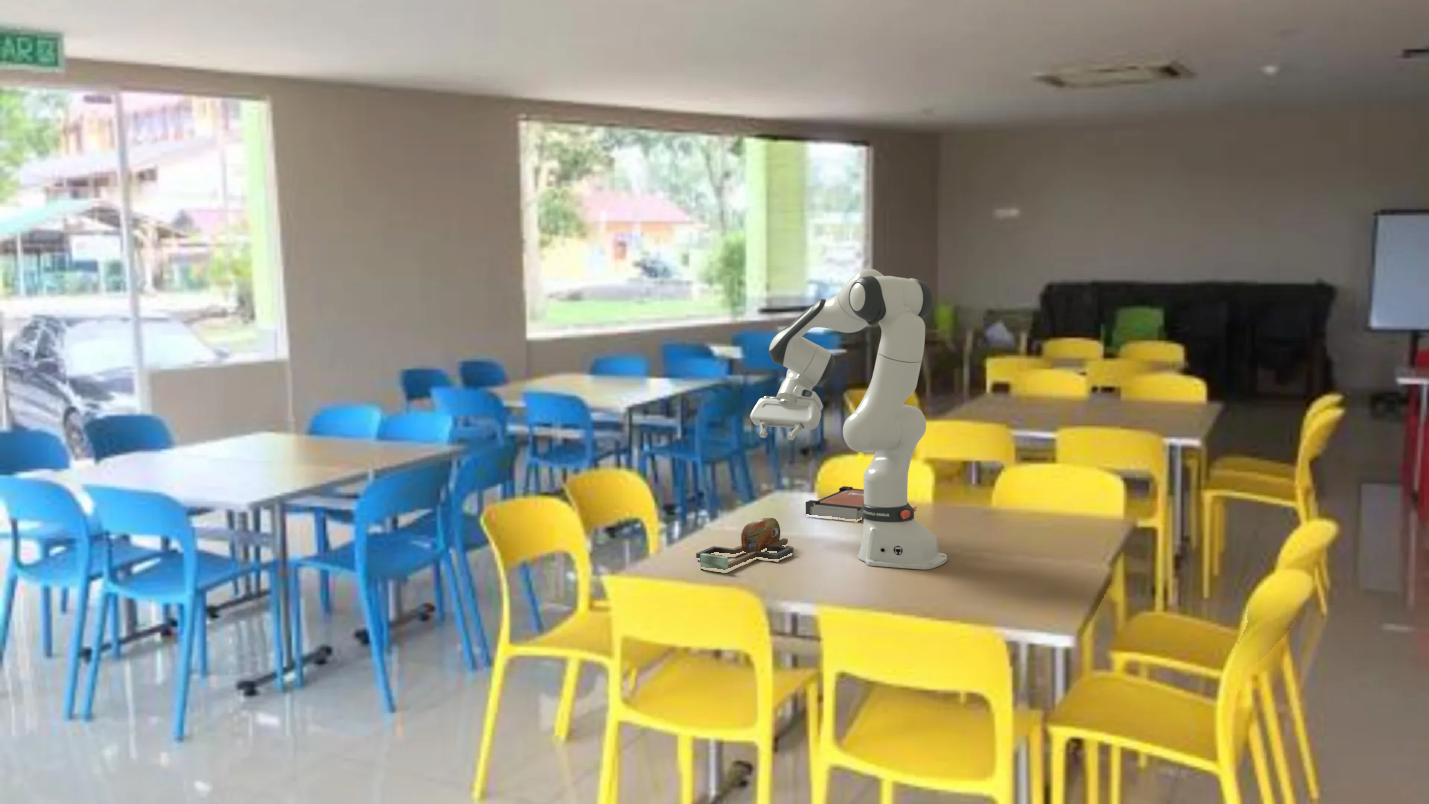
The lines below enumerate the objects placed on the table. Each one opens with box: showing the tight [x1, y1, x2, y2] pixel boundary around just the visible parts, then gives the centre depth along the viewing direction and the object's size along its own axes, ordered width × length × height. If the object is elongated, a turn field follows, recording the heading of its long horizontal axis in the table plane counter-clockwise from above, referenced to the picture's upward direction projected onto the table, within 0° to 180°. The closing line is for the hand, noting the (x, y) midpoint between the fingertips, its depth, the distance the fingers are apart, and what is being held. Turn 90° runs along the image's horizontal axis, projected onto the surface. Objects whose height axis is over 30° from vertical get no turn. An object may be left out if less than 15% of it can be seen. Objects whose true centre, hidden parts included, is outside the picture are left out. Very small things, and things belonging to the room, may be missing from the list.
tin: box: [740, 517, 781, 554], centre depth 314 cm, size 15×3×8 cm, turn 143°
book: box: [805, 485, 864, 520], centre depth 359 cm, size 26×18×5 cm
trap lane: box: [695, 537, 794, 570], centre depth 308 cm, size 19×31×4 cm, turn 147°
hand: (776, 437), depth 326 cm, fingers open, 7 cm apart
